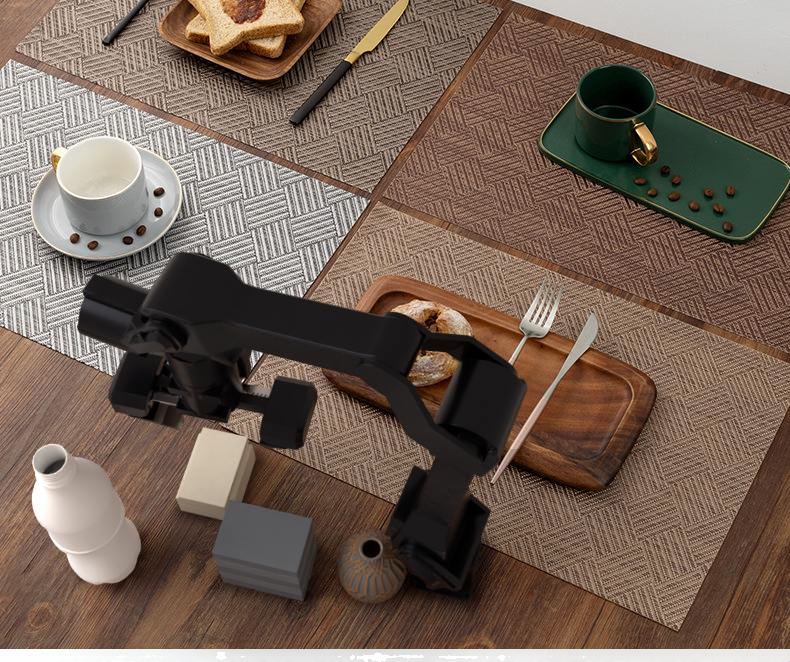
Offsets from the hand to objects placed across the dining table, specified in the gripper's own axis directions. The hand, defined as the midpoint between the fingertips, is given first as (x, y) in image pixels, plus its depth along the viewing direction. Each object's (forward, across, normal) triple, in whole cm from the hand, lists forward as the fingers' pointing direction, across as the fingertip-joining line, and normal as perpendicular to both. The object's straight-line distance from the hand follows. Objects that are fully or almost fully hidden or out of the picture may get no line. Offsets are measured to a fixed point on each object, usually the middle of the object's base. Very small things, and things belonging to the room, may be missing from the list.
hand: (225, 434), depth 113 cm
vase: (+12, -16, +7) cm, 22 cm away
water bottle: (+12, +10, +11) cm, 19 cm away
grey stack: (+12, -6, +8) cm, 15 cm away
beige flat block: (+8, +2, +1) cm, 8 cm away
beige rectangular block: (+12, +2, +1) cm, 12 cm away
